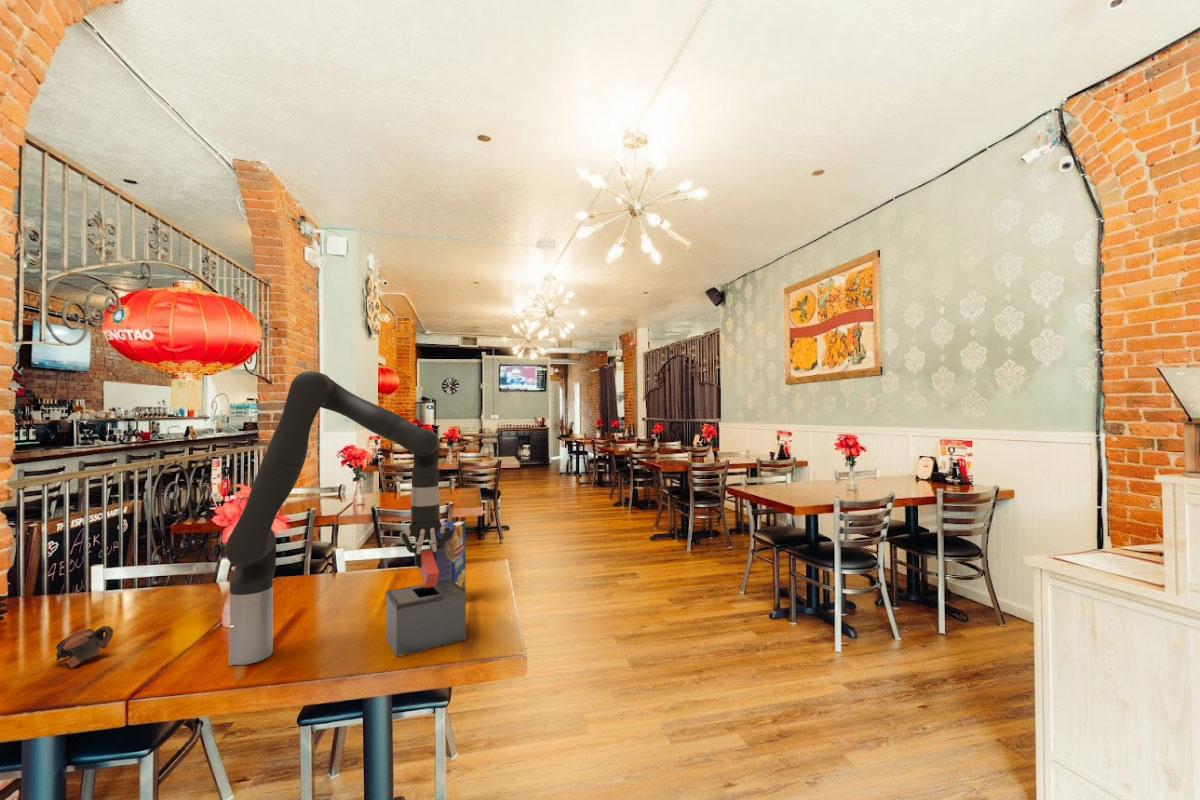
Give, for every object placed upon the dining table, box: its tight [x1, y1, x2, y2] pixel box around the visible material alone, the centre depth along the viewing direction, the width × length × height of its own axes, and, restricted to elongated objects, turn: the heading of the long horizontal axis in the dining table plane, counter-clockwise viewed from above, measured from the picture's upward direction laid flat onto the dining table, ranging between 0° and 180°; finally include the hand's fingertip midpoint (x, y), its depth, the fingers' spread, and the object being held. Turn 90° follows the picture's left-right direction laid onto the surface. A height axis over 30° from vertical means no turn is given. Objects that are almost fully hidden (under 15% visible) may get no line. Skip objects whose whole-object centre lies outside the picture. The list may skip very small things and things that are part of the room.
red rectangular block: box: [418, 547, 439, 588], centre depth 144 cm, size 3×5×9 cm
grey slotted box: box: [385, 580, 467, 657], centre depth 146 cm, size 18×13×13 cm
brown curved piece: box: [55, 625, 114, 669], centre depth 136 cm, size 12×9×8 cm
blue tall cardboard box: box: [435, 520, 467, 593], centre depth 179 cm, size 12×8×24 cm, turn 175°
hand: (425, 565), depth 146 cm, fingers closed on red rectangular block, 2 cm apart
